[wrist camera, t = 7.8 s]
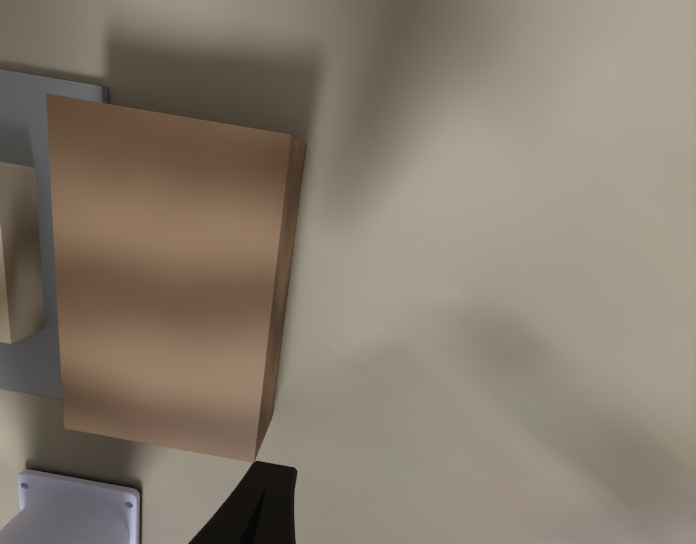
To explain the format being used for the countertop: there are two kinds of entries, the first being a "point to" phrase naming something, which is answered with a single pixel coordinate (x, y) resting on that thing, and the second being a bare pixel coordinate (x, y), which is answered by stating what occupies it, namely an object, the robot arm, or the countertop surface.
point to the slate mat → (33, 151)
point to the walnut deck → (170, 273)
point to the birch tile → (19, 254)
